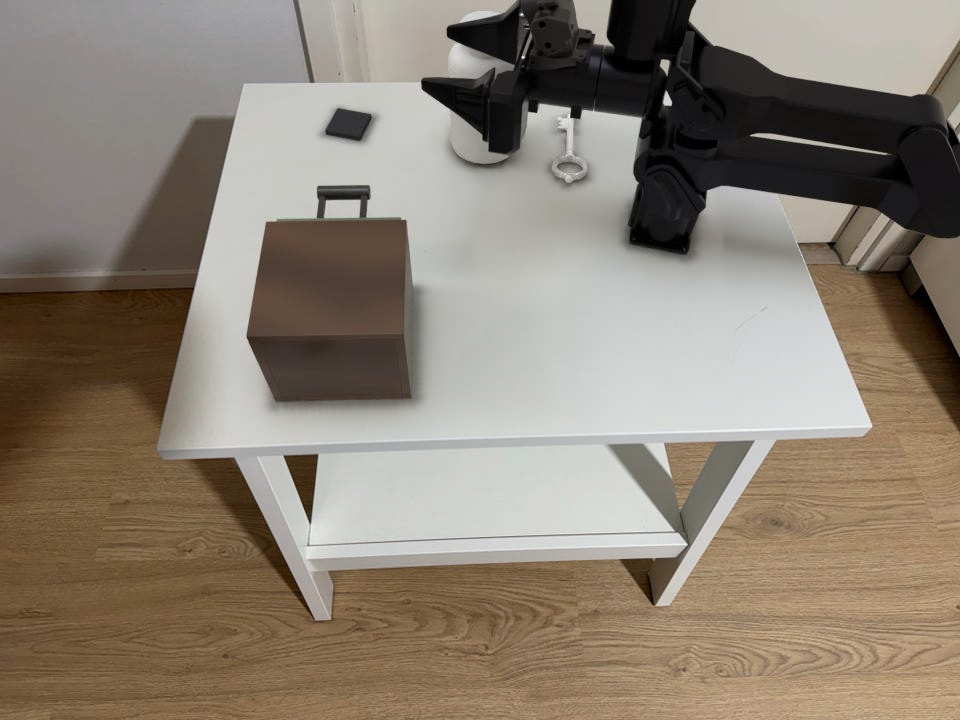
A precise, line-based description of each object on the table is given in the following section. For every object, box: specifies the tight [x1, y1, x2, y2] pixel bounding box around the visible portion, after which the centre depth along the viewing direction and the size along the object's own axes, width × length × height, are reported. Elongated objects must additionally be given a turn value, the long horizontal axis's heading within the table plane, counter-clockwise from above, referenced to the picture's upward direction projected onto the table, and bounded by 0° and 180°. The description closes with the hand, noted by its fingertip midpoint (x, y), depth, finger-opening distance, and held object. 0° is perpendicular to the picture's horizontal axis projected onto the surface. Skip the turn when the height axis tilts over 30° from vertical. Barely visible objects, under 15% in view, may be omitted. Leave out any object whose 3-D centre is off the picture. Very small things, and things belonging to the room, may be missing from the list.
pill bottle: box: [447, 10, 515, 165], centre depth 78 cm, size 8×8×15 cm
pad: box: [324, 107, 372, 141], centre depth 86 cm, size 4×4×1 cm
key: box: [551, 113, 589, 184], centre depth 84 cm, size 12×1×4 cm
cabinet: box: [245, 219, 414, 403], centre depth 64 cm, size 13×13×11 cm
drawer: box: [275, 184, 402, 221], centre depth 67 cm, size 17×11×9 cm
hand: (434, 56), depth 67 cm, fingers open, 9 cm apart
